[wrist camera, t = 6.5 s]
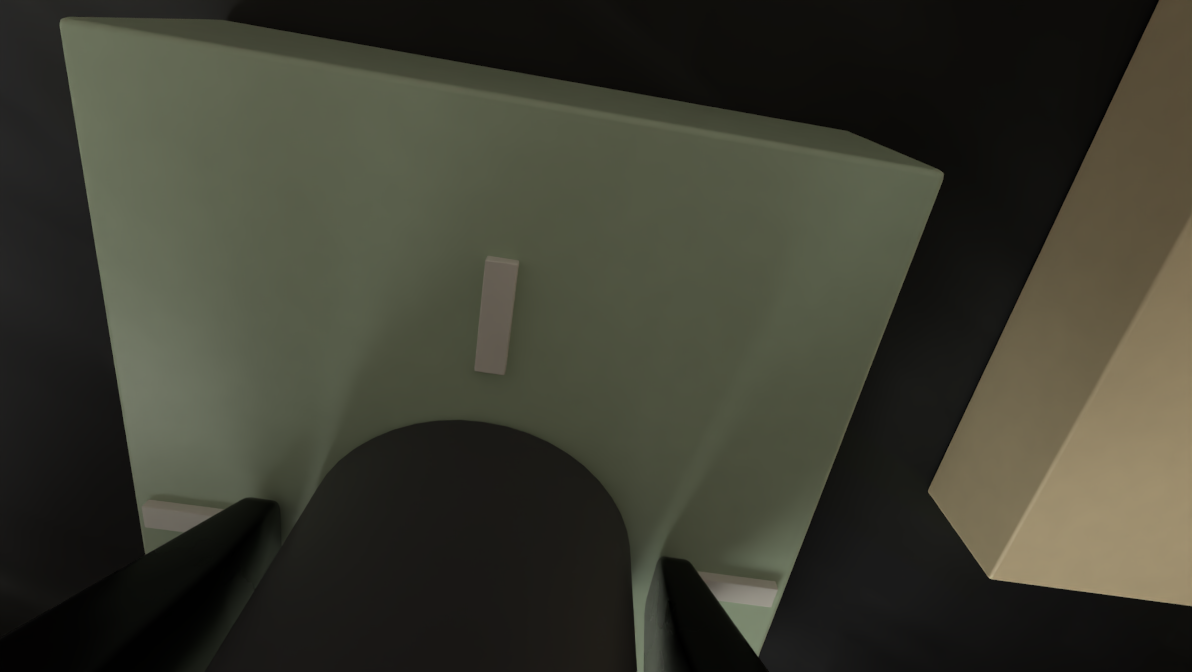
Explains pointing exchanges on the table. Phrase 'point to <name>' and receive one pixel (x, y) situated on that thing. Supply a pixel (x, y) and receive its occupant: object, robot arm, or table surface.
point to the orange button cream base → (1097, 364)
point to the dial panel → (481, 281)
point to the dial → (446, 564)
